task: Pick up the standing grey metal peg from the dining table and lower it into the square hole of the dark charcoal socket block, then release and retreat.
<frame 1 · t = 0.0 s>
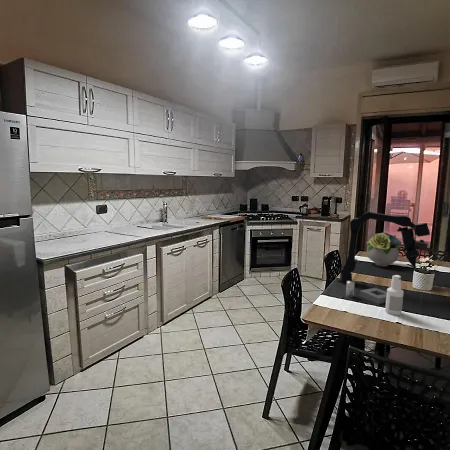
hand: (413, 265, 173), 15 cm above the table, tool pointing down, fingers open, 9 cm apart
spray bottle: (393, 312, 148), on the table
peg: (349, 295, 168), on the table
flower arrangement: (381, 265, 230), on the table
socket: (376, 298, 165), on the table
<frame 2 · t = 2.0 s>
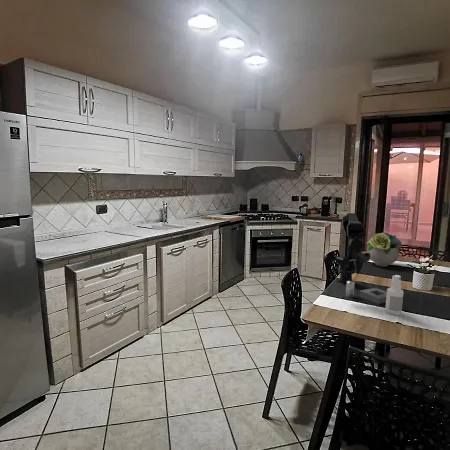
hand: (351, 274, 166), 12 cm above the table, tool pointing down, fingers open, 9 cm apart
nothing on the table moved.
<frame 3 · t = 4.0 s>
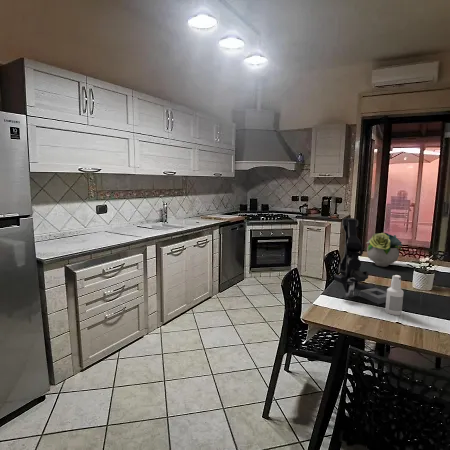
hand: (349, 292, 168), 2 cm above the table, tool pointing down, fingers closed on peg, 4 cm apart
peg: (349, 295, 168), on the table, touching gripper
everything else where it was.
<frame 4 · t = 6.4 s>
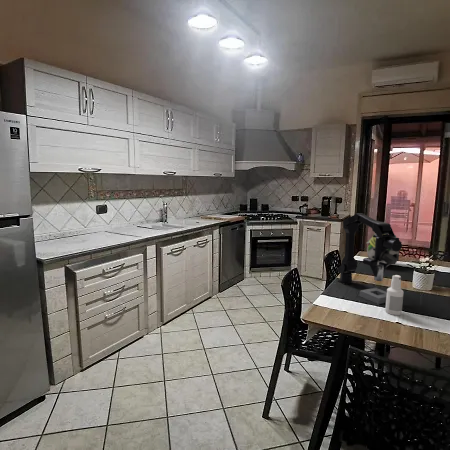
hand: (378, 276, 164), 12 cm above the table, tool pointing down, fingers closed on peg, 4 cm apart
peg: (378, 279, 164), point 10 cm above the table, touching gripper
everything else where it was.
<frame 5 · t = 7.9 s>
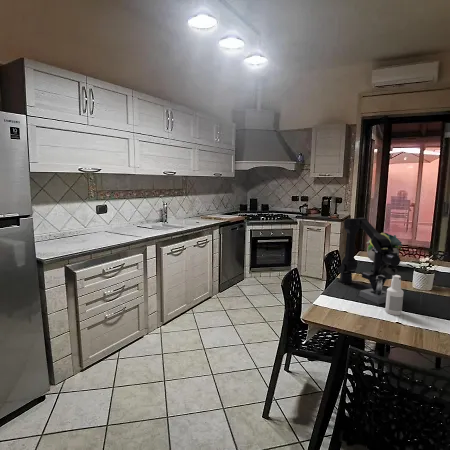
hand: (377, 289, 165), 5 cm above the table, tool pointing down, fingers closed on peg, 4 cm apart
peg: (377, 293, 165), point 3 cm above the table, touching gripper
everything else where it was.
when the fingers open (3 cm above the table, at t = 9.0 s): peg drops 1 cm, resting in socket.
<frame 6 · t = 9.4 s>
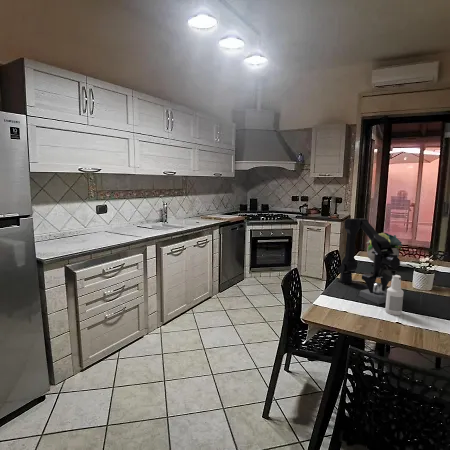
hand: (377, 291, 165), 3 cm above the table, tool pointing down, fingers open, 9 cm apart
peg: (376, 298, 165), resting in socket
everything else where it was.
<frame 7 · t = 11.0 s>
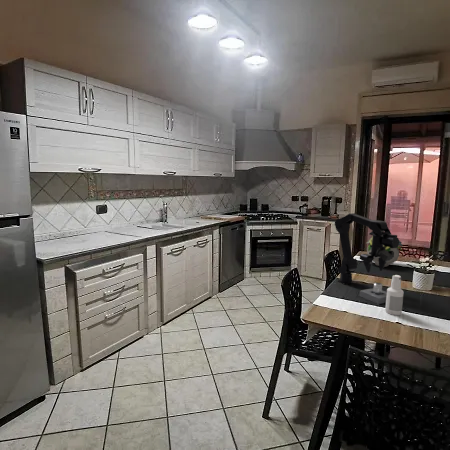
hand: (374, 271, 172), 12 cm above the table, tool pointing down, fingers open, 9 cm apart
nothing on the table moved.
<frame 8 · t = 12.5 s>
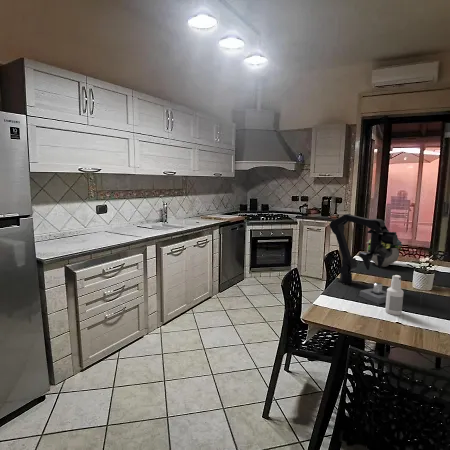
hand: (373, 268, 176), 13 cm above the table, tool pointing down, fingers open, 9 cm apart
nothing on the table moved.
at the end: peg 0.0 cm off-centre on the socket, point 0.0 cm above the socket's base; peg tilted 0°; the gripper is holding nothing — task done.
